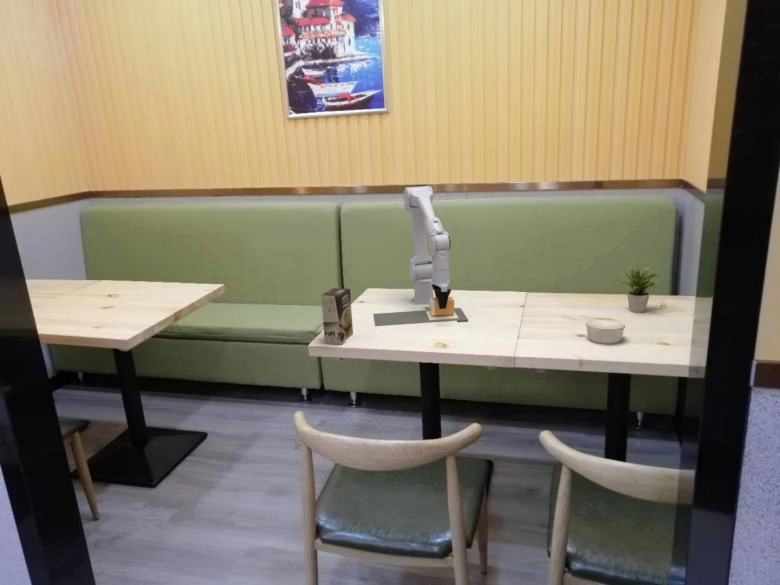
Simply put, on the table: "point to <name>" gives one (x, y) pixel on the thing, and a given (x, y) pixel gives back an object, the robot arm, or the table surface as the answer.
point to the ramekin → (605, 330)
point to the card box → (436, 309)
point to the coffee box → (337, 315)
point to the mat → (412, 318)
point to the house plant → (639, 289)
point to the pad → (441, 316)
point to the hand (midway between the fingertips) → (441, 306)
